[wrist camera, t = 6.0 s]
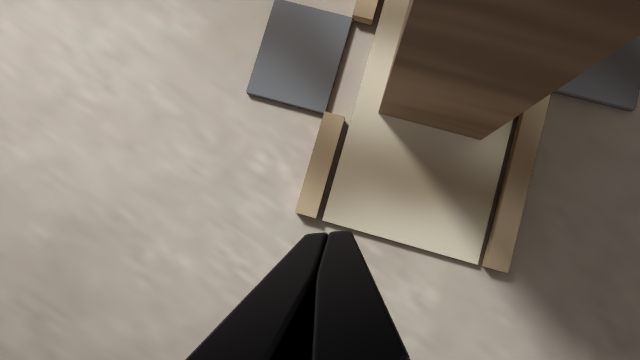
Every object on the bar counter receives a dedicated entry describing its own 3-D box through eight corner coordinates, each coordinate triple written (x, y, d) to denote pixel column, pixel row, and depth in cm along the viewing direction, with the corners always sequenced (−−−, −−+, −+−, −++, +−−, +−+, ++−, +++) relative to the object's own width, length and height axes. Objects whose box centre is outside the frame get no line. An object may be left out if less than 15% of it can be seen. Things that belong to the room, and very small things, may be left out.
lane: (590, 296, 21) (632, 307, 18) (217, 190, 22) (198, 183, 19) (679, -111, 23) (730, -162, 20) (333, -186, 24) (333, -245, 21)
